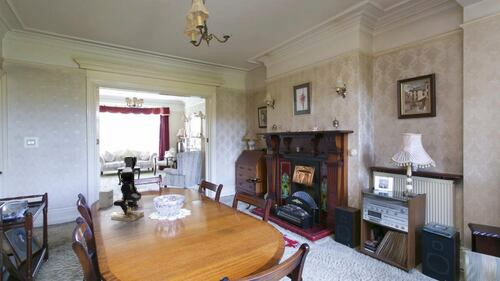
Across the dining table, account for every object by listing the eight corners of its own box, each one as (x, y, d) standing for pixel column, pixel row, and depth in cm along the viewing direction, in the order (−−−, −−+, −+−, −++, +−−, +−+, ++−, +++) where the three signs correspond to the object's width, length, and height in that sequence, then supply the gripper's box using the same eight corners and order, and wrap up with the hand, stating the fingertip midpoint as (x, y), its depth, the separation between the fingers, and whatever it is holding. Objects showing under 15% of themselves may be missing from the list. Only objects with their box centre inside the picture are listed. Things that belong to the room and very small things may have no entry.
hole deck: (127, 213, 174) (127, 210, 174) (144, 215, 171) (143, 211, 171) (111, 220, 161) (111, 216, 161) (129, 222, 157) (129, 217, 157)
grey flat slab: (114, 213, 177) (114, 211, 177) (122, 213, 175) (122, 212, 175) (103, 217, 168) (103, 215, 168) (112, 217, 166) (112, 216, 166)
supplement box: (108, 207, 190) (108, 191, 190) (98, 208, 190) (98, 191, 190) (113, 205, 197) (113, 189, 197) (104, 205, 197) (104, 189, 197)
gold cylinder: (127, 213, 168) (127, 206, 168) (132, 213, 167) (132, 206, 167) (123, 215, 164) (123, 207, 164) (128, 215, 163) (128, 208, 163)
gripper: (127, 193, 154) (127, 218, 155) (147, 187, 172) (147, 209, 173) (112, 192, 157) (113, 217, 158) (133, 186, 175) (134, 208, 176)
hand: (128, 212), depth 166 cm, fingers closed on gold cylinder, 4 cm apart
